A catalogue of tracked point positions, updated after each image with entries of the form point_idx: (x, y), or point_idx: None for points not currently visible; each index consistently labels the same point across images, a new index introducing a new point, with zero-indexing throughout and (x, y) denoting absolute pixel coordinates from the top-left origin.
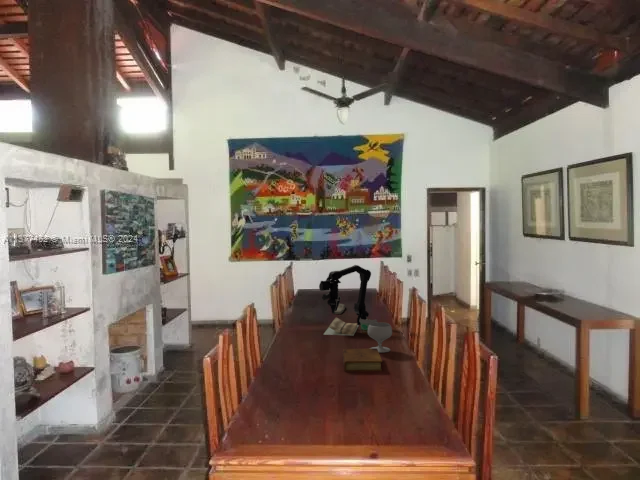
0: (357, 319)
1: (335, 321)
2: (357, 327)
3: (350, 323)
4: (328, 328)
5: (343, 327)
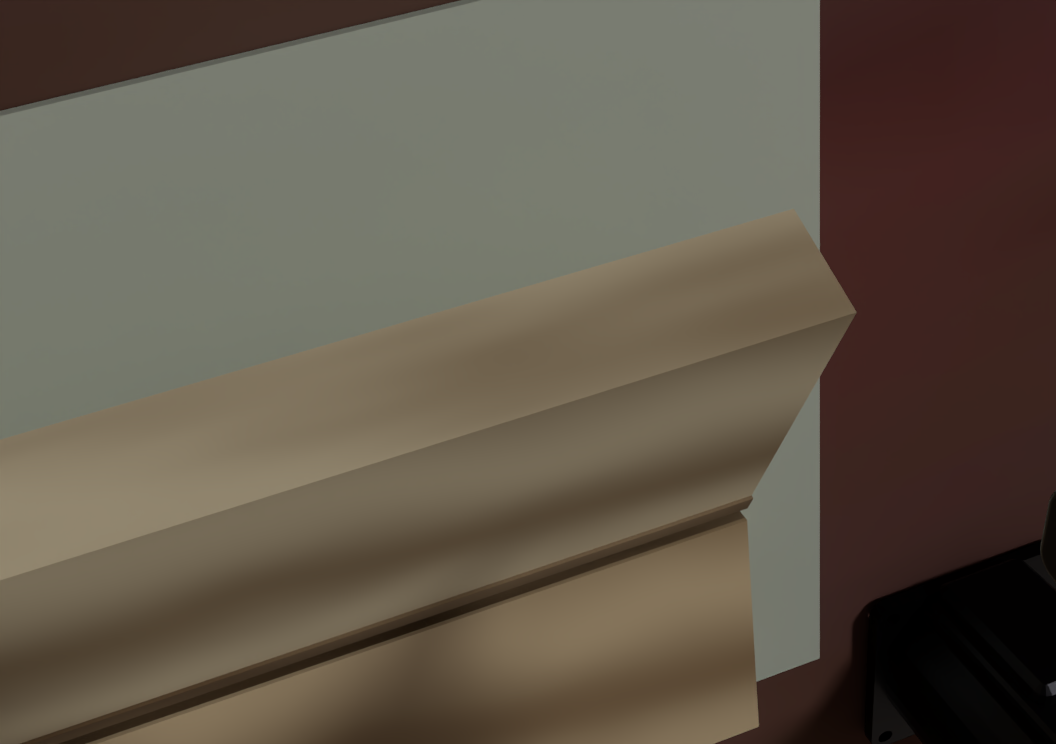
0: (1011, 672)
1: (148, 579)
2: None
3: (716, 623)
4: (108, 117)
5: None
